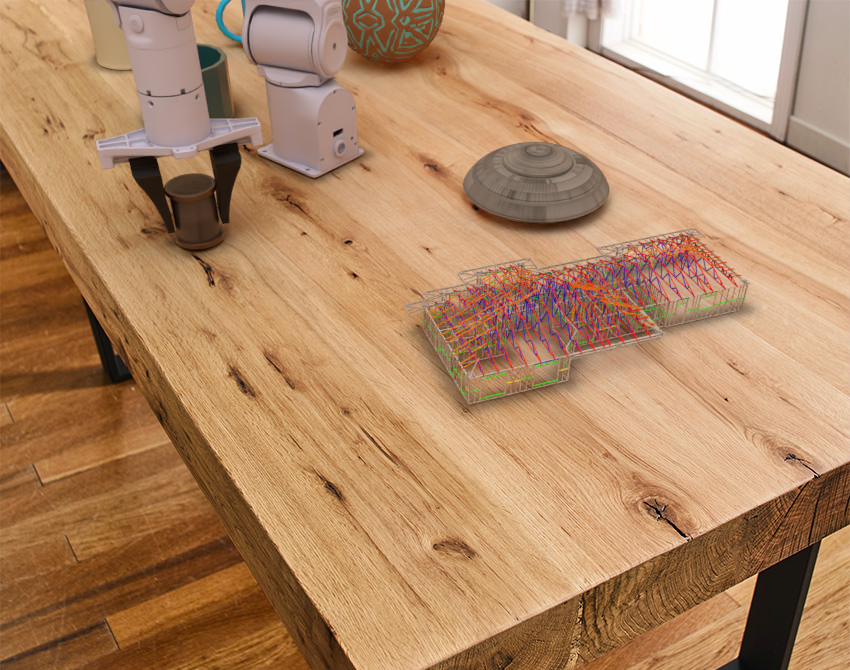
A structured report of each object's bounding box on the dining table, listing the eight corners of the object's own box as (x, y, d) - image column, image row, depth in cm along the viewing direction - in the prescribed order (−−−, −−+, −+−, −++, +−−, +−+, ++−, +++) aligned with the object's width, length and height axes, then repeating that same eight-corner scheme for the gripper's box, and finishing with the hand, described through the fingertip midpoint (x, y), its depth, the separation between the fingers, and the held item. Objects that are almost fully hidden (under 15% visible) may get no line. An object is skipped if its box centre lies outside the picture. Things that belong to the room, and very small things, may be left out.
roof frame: (687, 245, 89) (697, 196, 85) (783, 332, 78) (799, 279, 75) (391, 306, 82) (389, 255, 78) (452, 412, 71) (453, 358, 67)
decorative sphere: (425, 86, 119) (423, -40, 109) (317, 74, 122) (306, -50, 112) (458, 46, 129) (459, -72, 119) (358, 36, 133) (351, -80, 123)
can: (97, 73, 123) (74, -23, 115) (96, 49, 130) (74, -43, 122) (168, 66, 125) (149, -30, 117) (163, 42, 131) (146, -49, 123)
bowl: (251, 114, 113) (243, 56, 108) (184, 142, 107) (173, 82, 102) (198, 93, 118) (188, 36, 113) (132, 118, 112) (118, 60, 107)
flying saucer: (615, 174, 100) (622, 125, 96) (597, 243, 89) (604, 191, 86) (480, 158, 103) (482, 110, 99) (446, 224, 92) (447, 173, 89)
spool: (235, 235, 90) (226, 183, 87) (196, 254, 88) (185, 202, 84) (203, 219, 93) (194, 168, 89) (165, 238, 90) (153, 186, 86)
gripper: (86, 114, 76) (124, 258, 85) (261, 89, 79) (279, 230, 88) (81, 82, 81) (117, 221, 90) (245, 60, 84) (264, 196, 93)
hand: (197, 223), depth 89 cm, fingers closed on spool, 4 cm apart
